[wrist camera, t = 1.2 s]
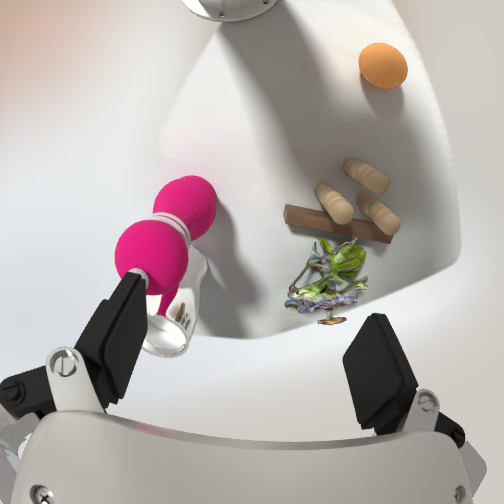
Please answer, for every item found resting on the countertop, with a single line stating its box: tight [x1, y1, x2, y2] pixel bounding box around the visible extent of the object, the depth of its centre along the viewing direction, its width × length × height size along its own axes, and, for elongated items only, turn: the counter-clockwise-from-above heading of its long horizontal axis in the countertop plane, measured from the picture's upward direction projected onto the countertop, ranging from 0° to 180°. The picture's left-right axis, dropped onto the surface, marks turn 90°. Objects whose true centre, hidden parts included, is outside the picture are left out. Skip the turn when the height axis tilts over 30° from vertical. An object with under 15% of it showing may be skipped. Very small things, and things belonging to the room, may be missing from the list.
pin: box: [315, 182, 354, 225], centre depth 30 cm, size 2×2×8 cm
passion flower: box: [284, 236, 368, 325], centre depth 36 cm, size 11×11×12 cm
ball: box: [359, 43, 408, 89], centre depth 23 cm, size 6×6×6 cm
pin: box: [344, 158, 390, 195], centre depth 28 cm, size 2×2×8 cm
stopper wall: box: [283, 204, 394, 244], centre depth 34 cm, size 2×15×3 cm, turn 80°
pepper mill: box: [115, 176, 216, 296], centre depth 25 cm, size 7×7×20 cm
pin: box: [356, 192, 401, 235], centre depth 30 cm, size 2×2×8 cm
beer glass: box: [142, 247, 207, 358], centre depth 32 cm, size 7×7×15 cm
